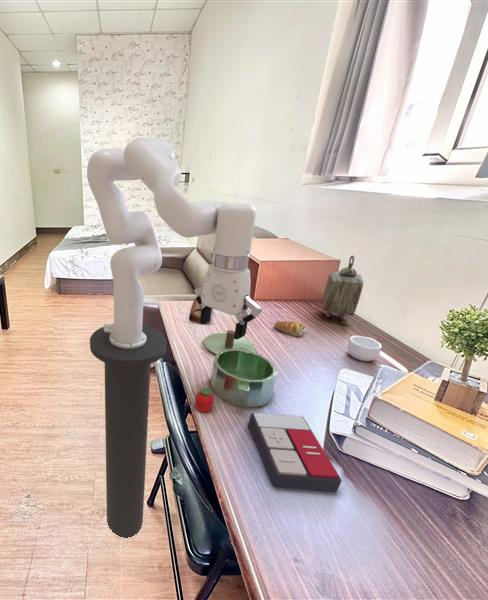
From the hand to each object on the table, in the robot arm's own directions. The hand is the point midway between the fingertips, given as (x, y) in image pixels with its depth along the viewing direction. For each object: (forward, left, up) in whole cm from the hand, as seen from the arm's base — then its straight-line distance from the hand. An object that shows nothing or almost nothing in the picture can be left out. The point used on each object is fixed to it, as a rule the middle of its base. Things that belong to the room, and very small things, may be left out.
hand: (221, 329), depth 75 cm
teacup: (+41, +33, -17) cm, 55 cm away
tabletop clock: (+40, +62, -17) cm, 76 cm away
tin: (+7, +2, -17) cm, 18 cm away
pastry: (+23, +43, -17) cm, 52 cm away
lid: (+3, +24, -17) cm, 29 cm away
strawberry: (-1, -9, -17) cm, 19 cm away
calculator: (+16, -16, -17) cm, 29 cm away
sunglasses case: (-9, +47, -17) cm, 51 cm away
